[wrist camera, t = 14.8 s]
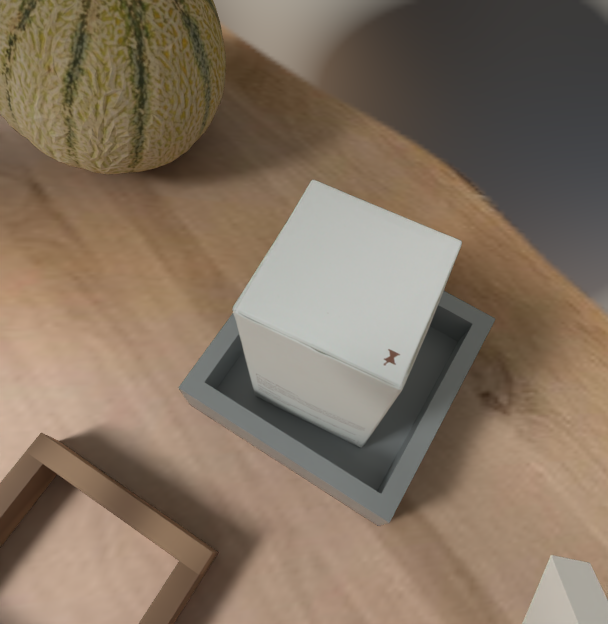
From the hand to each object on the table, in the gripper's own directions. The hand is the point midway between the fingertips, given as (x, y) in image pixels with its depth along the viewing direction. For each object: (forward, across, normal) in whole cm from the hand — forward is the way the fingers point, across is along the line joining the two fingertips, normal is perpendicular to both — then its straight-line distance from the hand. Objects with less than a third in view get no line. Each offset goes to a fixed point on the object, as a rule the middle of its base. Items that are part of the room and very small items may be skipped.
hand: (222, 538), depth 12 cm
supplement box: (+22, +2, -6) cm, 23 cm away
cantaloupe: (+33, -15, +4) cm, 37 cm away
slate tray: (+22, +2, -7) cm, 23 cm away
